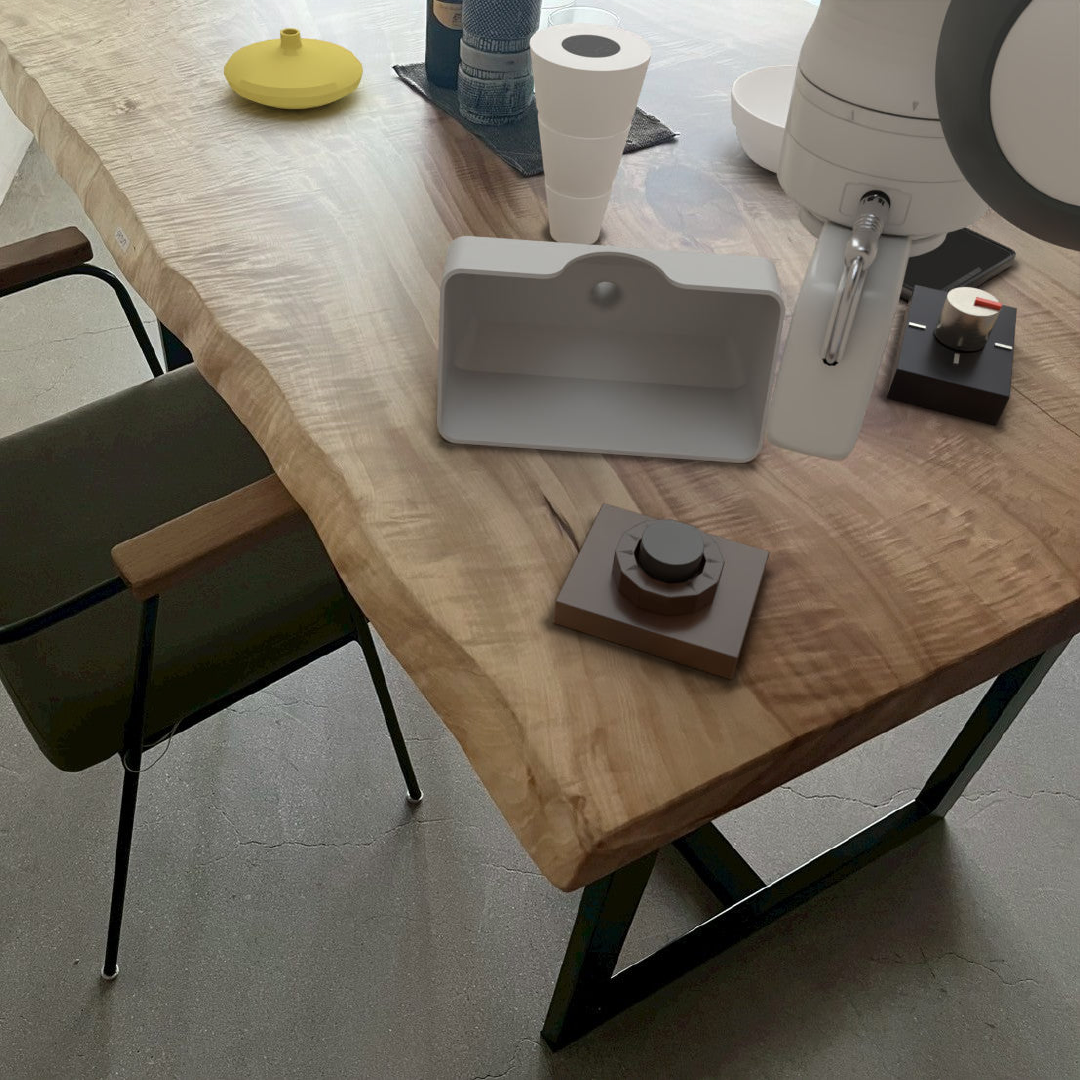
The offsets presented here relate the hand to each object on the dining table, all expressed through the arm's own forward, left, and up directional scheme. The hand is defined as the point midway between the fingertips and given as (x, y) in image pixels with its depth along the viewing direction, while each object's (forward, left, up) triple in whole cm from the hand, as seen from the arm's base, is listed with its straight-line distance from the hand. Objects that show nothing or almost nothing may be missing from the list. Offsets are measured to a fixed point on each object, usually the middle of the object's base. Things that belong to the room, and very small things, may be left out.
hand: (818, 415), depth 53 cm
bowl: (+9, -72, -20) cm, 76 cm away
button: (+6, -3, -17) cm, 18 cm away
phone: (-8, -55, -20) cm, 59 cm away
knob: (-10, -39, -17) cm, 44 cm away
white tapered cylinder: (+27, -46, -20) cm, 57 cm away
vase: (+67, -62, -20) cm, 94 cm away
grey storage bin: (+17, -23, -20) cm, 36 cm away
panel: (-10, -39, -20) cm, 45 cm away
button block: (+6, -3, -20) cm, 21 cm away
